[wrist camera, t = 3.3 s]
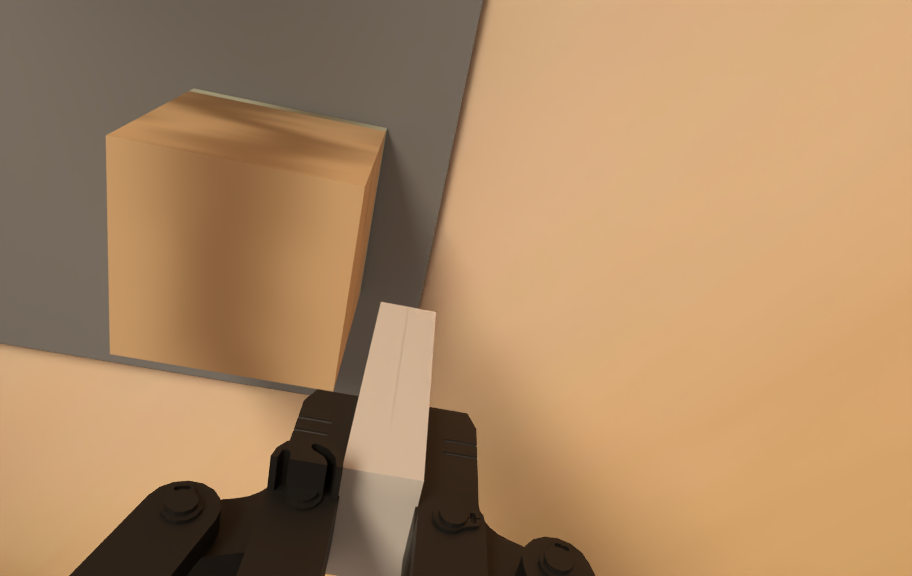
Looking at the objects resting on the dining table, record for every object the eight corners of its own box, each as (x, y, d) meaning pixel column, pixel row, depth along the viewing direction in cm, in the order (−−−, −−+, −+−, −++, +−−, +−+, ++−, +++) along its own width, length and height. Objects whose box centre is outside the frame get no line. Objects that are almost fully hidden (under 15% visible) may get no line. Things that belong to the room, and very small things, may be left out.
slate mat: (-211, 302, 29) (-219, 306, 29) (-339, -207, 21) (-353, -209, 21) (398, 404, 31) (397, 409, 31) (486, -18, 23) (486, -18, 23)
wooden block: (187, 261, 28) (109, 354, 21) (194, 87, 25) (105, 135, 18) (360, 293, 28) (333, 391, 22) (387, 127, 25) (365, 186, 19)
